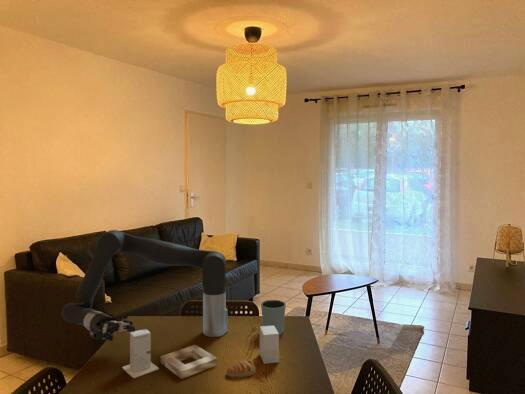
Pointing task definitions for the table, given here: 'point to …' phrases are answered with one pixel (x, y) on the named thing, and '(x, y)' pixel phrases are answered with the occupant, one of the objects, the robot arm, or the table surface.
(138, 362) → the skincare box
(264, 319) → the grey green cup
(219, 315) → the robot arm
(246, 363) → the pastry
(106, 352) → the table surface
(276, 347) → the small box
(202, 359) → the socket block
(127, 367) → the white pad
